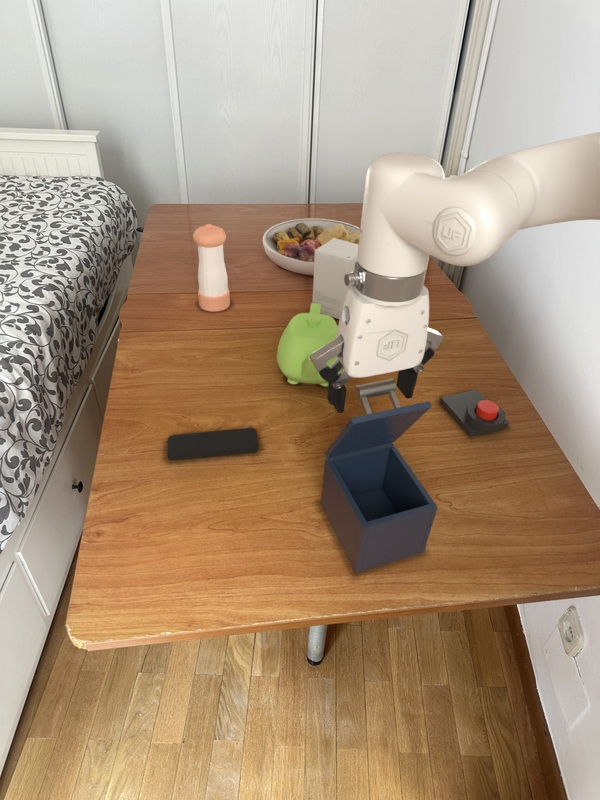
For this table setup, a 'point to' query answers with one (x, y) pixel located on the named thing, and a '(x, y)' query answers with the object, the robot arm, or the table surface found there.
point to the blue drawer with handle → (376, 421)
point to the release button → (487, 410)
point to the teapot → (305, 345)
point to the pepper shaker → (212, 268)
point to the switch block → (472, 413)
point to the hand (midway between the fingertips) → (370, 399)
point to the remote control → (212, 444)
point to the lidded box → (376, 506)
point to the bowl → (304, 241)
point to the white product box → (333, 275)
